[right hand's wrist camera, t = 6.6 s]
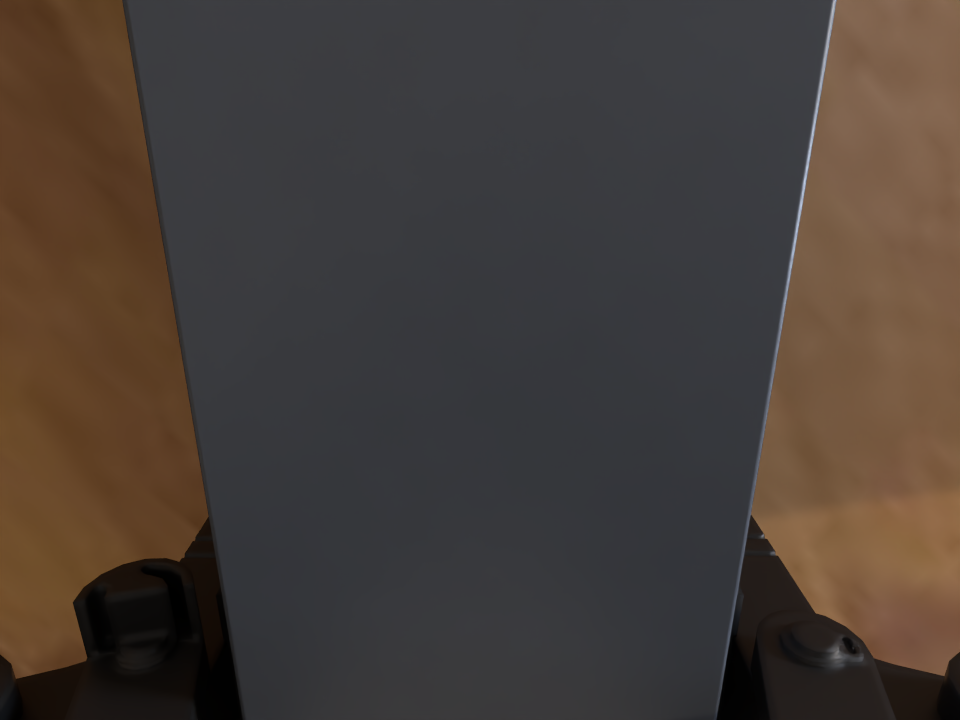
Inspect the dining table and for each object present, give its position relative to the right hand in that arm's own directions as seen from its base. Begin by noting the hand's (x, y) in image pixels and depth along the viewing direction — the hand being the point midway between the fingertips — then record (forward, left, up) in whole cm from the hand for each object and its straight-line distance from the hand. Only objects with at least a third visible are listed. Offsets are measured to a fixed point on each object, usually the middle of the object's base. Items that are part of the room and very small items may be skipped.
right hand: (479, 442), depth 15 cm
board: (-2, -18, -1) cm, 18 cm away
